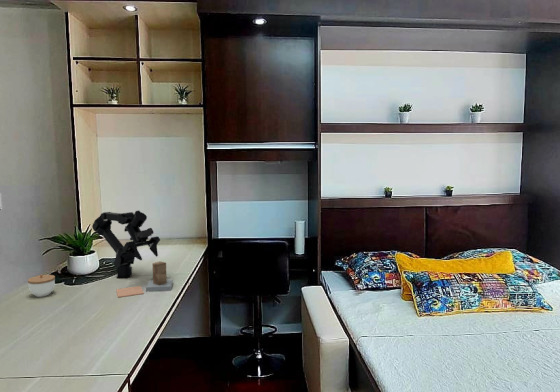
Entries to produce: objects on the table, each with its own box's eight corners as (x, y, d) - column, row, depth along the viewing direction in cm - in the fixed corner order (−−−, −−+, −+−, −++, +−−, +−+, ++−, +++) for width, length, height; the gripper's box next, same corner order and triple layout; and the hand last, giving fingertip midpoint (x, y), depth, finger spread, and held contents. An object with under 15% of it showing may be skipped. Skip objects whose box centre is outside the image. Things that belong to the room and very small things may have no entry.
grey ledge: (146, 291, 187) (146, 287, 187) (150, 284, 198) (149, 280, 198) (170, 290, 189) (170, 286, 188) (172, 283, 199) (172, 279, 199)
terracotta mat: (116, 290, 189) (116, 289, 189) (140, 287, 194) (140, 286, 193) (117, 297, 179) (117, 296, 179) (143, 294, 184) (143, 292, 184)
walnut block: (153, 283, 192) (152, 263, 191) (160, 281, 196) (160, 261, 195) (158, 285, 190) (158, 264, 189) (166, 282, 193) (166, 262, 192)
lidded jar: (61, 292, 186) (60, 272, 185) (40, 299, 176) (39, 279, 175) (44, 289, 190) (42, 270, 189) (23, 297, 180) (21, 276, 179)
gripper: (125, 226, 190) (140, 252, 185) (157, 220, 205) (172, 245, 200) (116, 239, 196) (130, 265, 191) (148, 233, 211) (162, 257, 206)
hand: (149, 258), depth 197 cm, fingers open, 9 cm apart
